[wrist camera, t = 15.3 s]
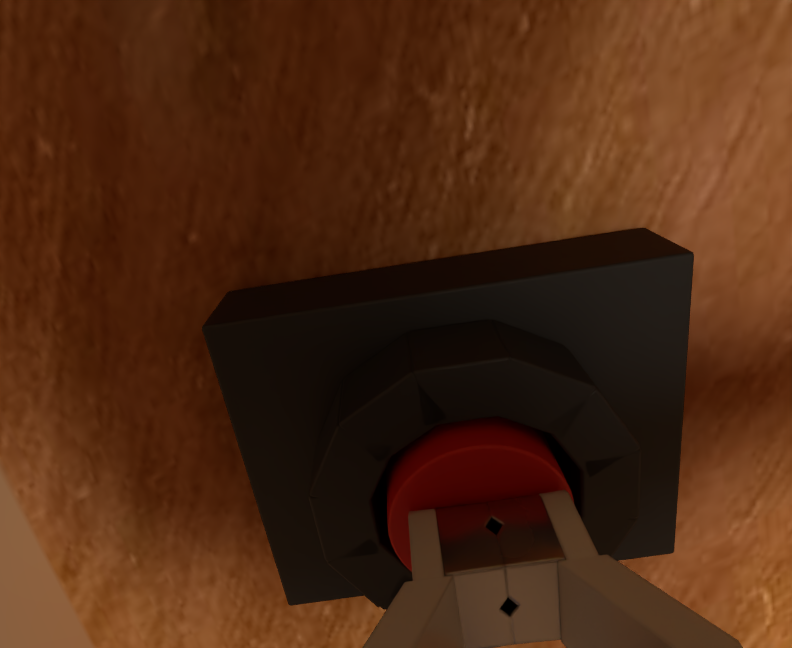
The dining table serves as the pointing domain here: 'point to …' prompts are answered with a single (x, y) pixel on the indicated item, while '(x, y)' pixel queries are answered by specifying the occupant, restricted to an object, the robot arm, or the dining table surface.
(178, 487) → the dining table surface
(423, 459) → the button
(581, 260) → the control block
